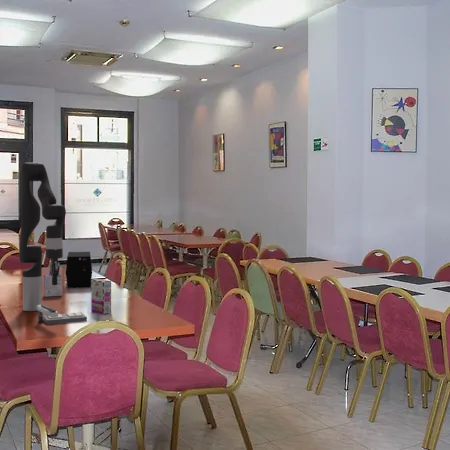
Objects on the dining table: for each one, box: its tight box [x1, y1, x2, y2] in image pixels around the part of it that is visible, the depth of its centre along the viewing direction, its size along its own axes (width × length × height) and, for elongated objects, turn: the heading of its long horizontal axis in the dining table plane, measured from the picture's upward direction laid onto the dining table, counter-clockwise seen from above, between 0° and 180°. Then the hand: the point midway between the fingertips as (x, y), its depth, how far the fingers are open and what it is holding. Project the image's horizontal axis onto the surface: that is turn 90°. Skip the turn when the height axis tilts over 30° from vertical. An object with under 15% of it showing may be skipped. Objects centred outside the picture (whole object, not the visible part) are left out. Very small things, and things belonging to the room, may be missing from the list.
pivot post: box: [37, 310, 44, 324], centre depth 274 cm, size 2×2×6 cm
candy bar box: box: [90, 278, 112, 315], centre depth 297 cm, size 11×5×16 cm, turn 45°
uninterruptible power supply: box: [65, 251, 93, 289], centre depth 389 cm, size 16×34×20 cm, turn 13°
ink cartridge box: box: [43, 273, 63, 297], centre depth 346 cm, size 10×6×14 cm, turn 114°
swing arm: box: [37, 303, 59, 317], centre depth 266 cm, size 22×3×3 cm, turn 35°
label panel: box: [43, 311, 88, 326], centre depth 278 cm, size 12×18×3 cm, turn 116°
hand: (54, 284), depth 276 cm, fingers closed
